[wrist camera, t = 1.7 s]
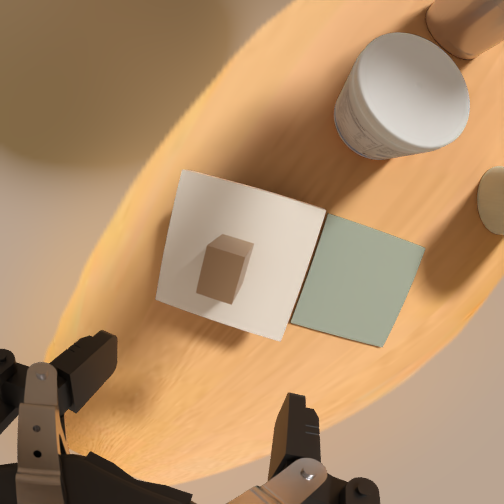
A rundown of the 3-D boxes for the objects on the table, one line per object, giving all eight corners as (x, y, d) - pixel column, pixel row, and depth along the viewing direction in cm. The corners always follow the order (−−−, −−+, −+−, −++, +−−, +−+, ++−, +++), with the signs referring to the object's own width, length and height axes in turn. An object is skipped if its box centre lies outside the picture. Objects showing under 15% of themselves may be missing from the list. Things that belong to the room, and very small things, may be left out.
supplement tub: (379, 71, 28) (423, 15, 14) (423, 137, 30) (492, 118, 15) (315, 107, 31) (327, 58, 17) (361, 176, 32) (407, 174, 18)
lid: (190, 170, 29) (159, 167, 22) (323, 208, 28) (333, 217, 21) (163, 292, 32) (132, 319, 25) (281, 331, 31) (277, 370, 24)
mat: (327, 213, 33) (328, 213, 33) (424, 247, 32) (425, 248, 32) (290, 321, 37) (290, 322, 37) (381, 345, 36) (382, 347, 36)
